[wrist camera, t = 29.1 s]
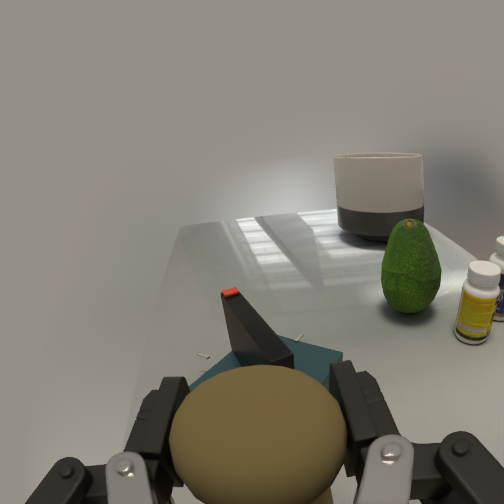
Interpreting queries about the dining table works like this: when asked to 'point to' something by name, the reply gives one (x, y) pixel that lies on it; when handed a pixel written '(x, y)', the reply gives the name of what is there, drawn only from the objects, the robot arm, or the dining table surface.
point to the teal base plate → (305, 360)
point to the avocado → (410, 268)
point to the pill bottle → (500, 258)
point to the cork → (259, 438)
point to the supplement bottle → (478, 302)
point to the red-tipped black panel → (252, 334)
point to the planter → (378, 192)
